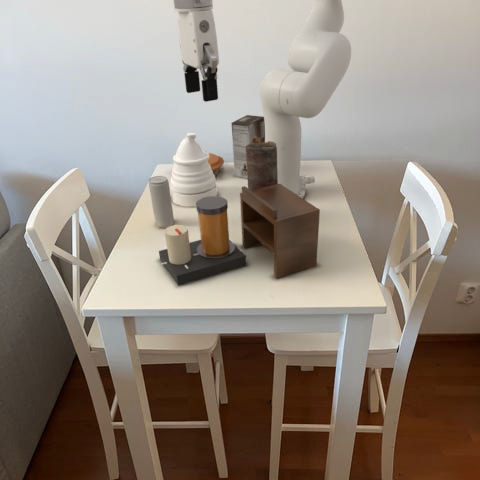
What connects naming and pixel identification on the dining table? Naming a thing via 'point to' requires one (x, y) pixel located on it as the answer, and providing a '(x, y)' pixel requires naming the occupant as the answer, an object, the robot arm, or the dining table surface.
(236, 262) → the hot plate
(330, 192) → the dining table surface
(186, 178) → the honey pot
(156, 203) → the beverage can
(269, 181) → the candle
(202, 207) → the jar
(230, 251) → the pale grey disc
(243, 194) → the shelf
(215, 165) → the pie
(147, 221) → the dining table surface
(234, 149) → the coffee box
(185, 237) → the knob
